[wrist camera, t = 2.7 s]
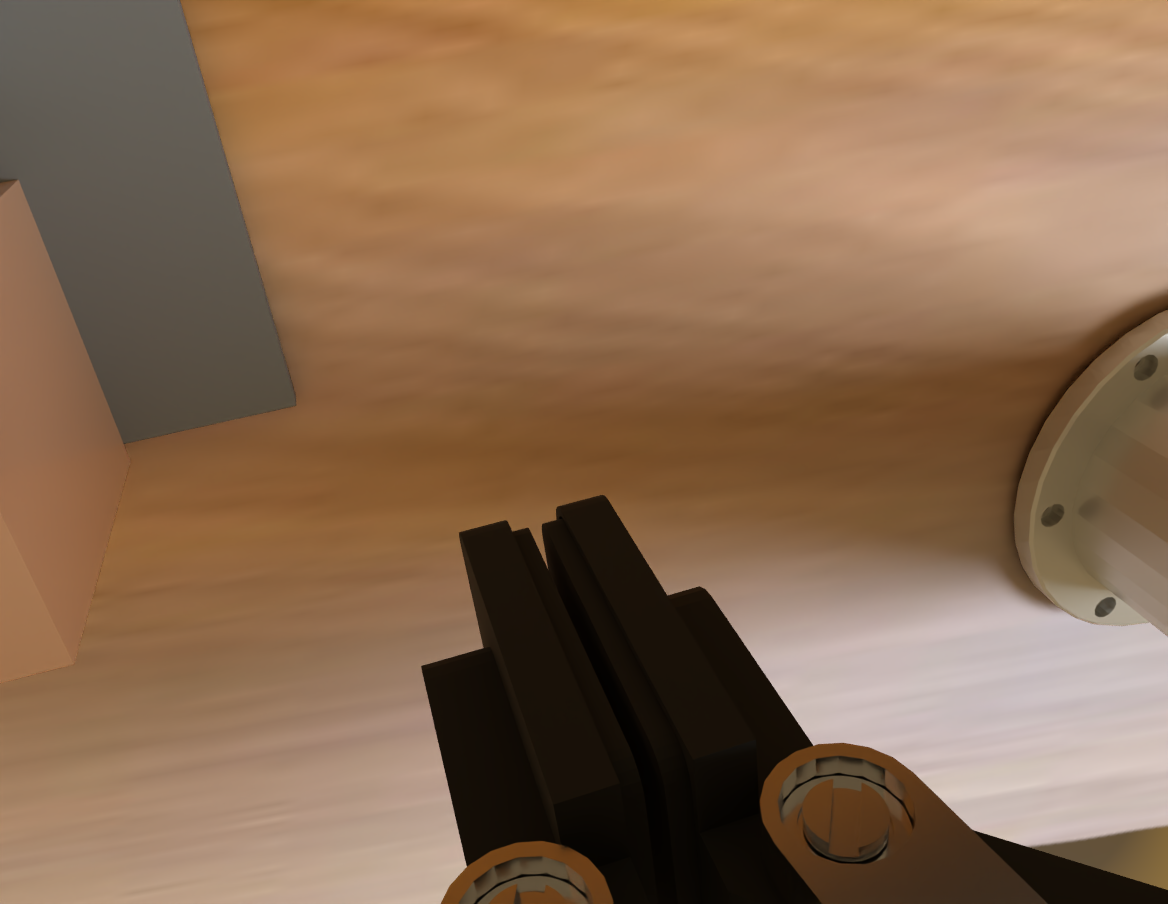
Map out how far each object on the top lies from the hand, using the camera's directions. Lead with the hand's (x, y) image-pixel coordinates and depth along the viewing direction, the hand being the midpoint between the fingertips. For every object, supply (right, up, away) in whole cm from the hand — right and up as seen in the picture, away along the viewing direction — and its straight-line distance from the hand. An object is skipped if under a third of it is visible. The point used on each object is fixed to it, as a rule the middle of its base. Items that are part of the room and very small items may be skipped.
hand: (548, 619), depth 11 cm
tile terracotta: (-12, +4, +12) cm, 17 cm away
